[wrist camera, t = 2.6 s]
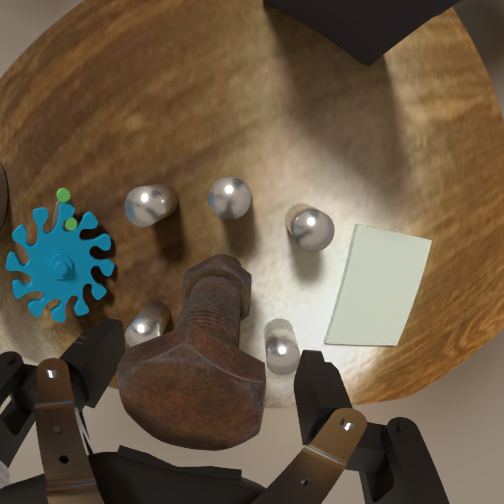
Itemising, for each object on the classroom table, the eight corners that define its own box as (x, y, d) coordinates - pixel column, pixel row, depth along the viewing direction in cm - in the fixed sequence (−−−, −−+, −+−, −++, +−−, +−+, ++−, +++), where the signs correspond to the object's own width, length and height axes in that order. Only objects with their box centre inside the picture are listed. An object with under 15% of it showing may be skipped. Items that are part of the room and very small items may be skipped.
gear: (111, 324, 22) (7, 325, 15) (93, 298, 26) (8, 295, 18) (128, 200, 21) (13, 181, 13) (108, 194, 25) (17, 179, 17)
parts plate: (324, 339, 25) (325, 343, 24) (355, 223, 22) (357, 224, 21) (394, 342, 25) (396, 345, 24) (428, 239, 22) (431, 240, 21)
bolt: (251, 304, 23) (255, 459, 9) (192, 300, 23) (136, 444, 9) (257, 237, 22) (272, 355, 7) (193, 233, 22) (104, 336, 7)
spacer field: (144, 333, 24) (127, 360, 20) (151, 167, 20) (128, 166, 16) (286, 354, 25) (293, 385, 21) (323, 191, 21) (341, 196, 17)
